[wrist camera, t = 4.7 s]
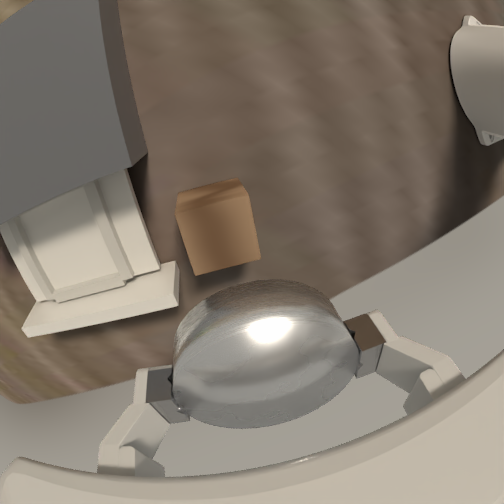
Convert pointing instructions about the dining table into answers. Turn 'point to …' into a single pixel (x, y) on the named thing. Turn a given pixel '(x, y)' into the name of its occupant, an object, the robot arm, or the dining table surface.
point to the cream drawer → (89, 258)
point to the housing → (63, 101)
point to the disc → (261, 355)
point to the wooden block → (217, 226)
